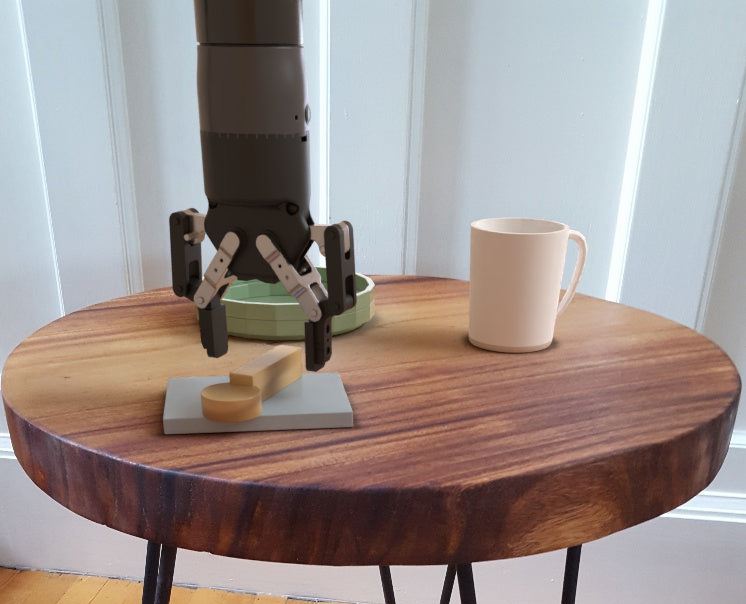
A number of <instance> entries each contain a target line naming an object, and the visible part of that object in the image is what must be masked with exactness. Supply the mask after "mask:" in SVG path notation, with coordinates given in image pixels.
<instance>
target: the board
mask: <svg viewBox="0 0 746 604" xmlns="http://www.w3.org/2000/svg"><path fill="white" fill-rule="evenodd" d="M228 382H230V377H229V375H218V376H217V375H216V376H213V375H211V376H185V377H184V376H183V377H181V376H180V377H168V378H167V383H166V391H165V392H166V393H165V400H164V407H163V415H162V422H163V423H162V425H163V432H164V435H186V434H188V435H189V434H209V433H211V434H212V433H213V434H214V433H234V432H261V431H263V432H264V431H285V430H286V431H287V430H288V431H289V430H313V429H336V428H337V429H338V428H354V411H353V407H352V405H351V403H350V400H349V397H348V395H347V392H346V389H345V386H344V384H343V380H342V378H341V376H340V373H339V372H337V371H335V372H309V373H308V372H307V373H305V372H304V373H303V372H302V377H301V378H299V379H298V380H296V381H295V382H293V383H292V384H290V385H289V386H287V387H285V388H284V389H282V390H281V391H279V392H278V393H276V394H274V395H273V396H271V397H270V398H268V399H267V400H265V401H264V402H262V413H261V415H260V416H258V417H256V418H254V419H251V420H248V421H242V422H217V421H212V420H209V419H207V418H205V417H204V416H203V414H202V404H201V391H202V389H204V388H205V387H208V386H210V385H214V384H219V383H228Z"/></svg>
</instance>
